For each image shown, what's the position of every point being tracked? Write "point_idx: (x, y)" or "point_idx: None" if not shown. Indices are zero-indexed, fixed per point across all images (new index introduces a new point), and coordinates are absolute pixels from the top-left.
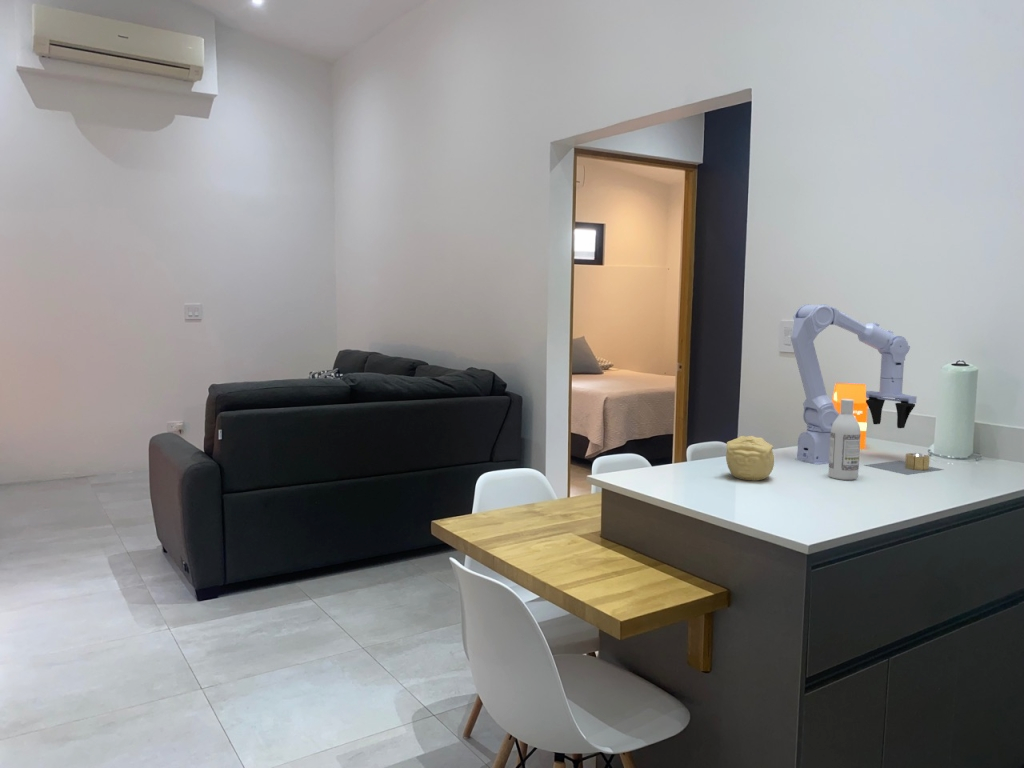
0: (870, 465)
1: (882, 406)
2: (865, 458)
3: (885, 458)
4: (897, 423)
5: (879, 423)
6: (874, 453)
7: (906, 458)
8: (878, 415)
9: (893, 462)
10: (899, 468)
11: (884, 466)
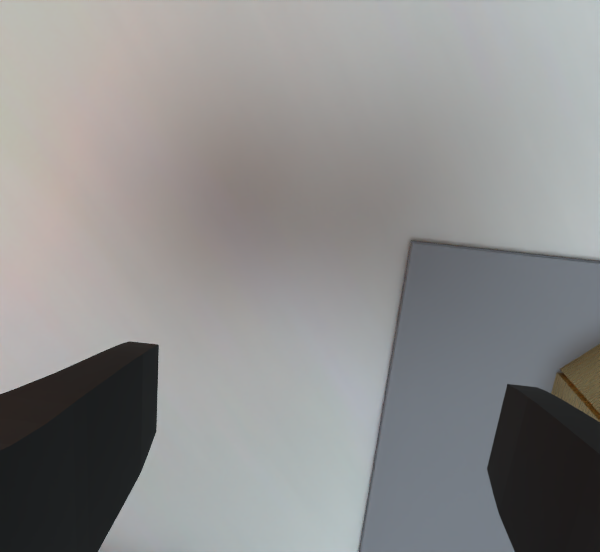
0: (387, 548)
1: (8, 458)
2: (200, 326)
3: (273, 198)
4: (511, 527)
5: (156, 358)
6: (97, 69)
7: None
8: (103, 446)
9: (422, 348)
10: None
11: (454, 509)
